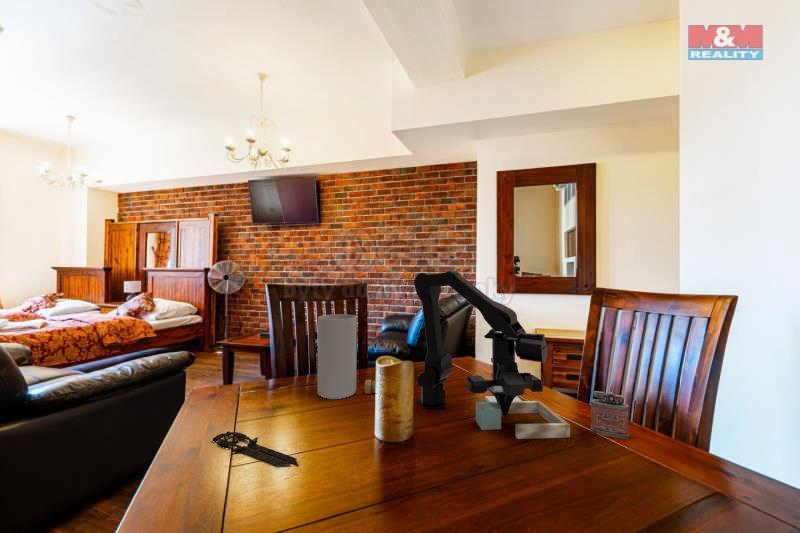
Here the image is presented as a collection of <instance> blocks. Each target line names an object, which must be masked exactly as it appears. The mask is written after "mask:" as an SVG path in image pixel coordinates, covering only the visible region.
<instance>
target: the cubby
mask: <svg viewBox="0 0 800 533" xmlns="http://www.w3.org/2000/svg"><path fill="white" fill-rule="evenodd" d="M495 403H496V404H497V405H498V403H497V402H495ZM498 407H499V406H498ZM508 414H510V415H512V414H513V415H514V414H538V415H539V416H541V417H542V418H543V419H544V420H545V421H546V422H548V423H515V431H514V432H515V438H516V439H518V440H523V439H525V440H526V439H527V440H529V439H562V438H564V439H565V438H566V439H567V438H571V424H570V423H569V422H567V421H566V420H565V419H563V418H562V417H561V416H560V415H559V414H557V413H556V412H555V411H553V409H551V408H550V407H548V406H547V405H545V403H543V402H542V401H541V400H522V401H512V403H511V406H510V409H509V411H508ZM508 414H507V415H508Z"/></svg>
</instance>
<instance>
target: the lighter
mask: <svg viewBox="0 0 800 533" xmlns="http://www.w3.org/2000/svg"><path fill="white" fill-rule="evenodd" d="M593 397H594V398H591V399H590V405H591V406H590V412H591V417H590V418H591V425H590V431H591V432H592V433H595V434H598V435H601V436H608V437H610V438H611V437H613V438H619V439H629V438H630V433H629V410H630V406H629V404H627V403H625V402H624V403H623V401H624V396H623V395H621V394H616V393H614V392H612V391H608V392H607V393H606V392H605V391H598V390H594V391H593ZM596 398H598V399H596Z"/></svg>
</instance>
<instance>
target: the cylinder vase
mask: <svg viewBox="0 0 800 533" xmlns="http://www.w3.org/2000/svg"><path fill="white" fill-rule="evenodd" d="M357 318H358V317H357V315H353V314H338V313H337V314H325V315H320V316H318V318H317V395H318V396H319V397H320V396H321V398H322V397H323V399H326V398H327V399H326V400H341V399H342V398H343V399H346V397H347V398H349V396H350V397H351V396H353V395H354V394H356V392H357V333H358V332H357V330H358V329H357V328H358V327H357V323H358V322H357V320H358V319H357Z"/></svg>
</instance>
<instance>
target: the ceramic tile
mask: <svg viewBox="0 0 800 533" xmlns="http://www.w3.org/2000/svg"><path fill="white" fill-rule="evenodd" d="M484 398H485V399H484V402H497V401H496V398H495V396H494V395H492V396H491V395H488V396H487V395H486V396H484ZM513 401H523V400H522V399H521V398H520V397H519V396H516V397H515V398H514V400H513Z"/></svg>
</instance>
